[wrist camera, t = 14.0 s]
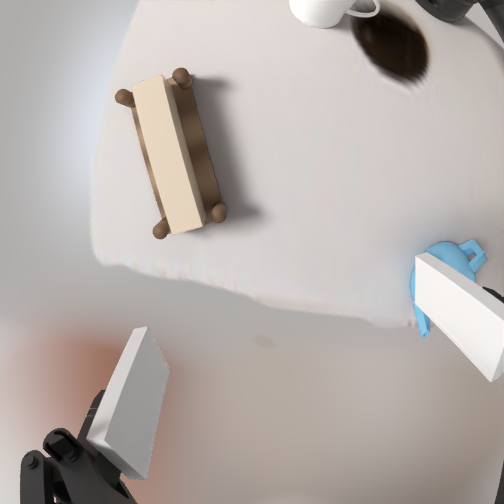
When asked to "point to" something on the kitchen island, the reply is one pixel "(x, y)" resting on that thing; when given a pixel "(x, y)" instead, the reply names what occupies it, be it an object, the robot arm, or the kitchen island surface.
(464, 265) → the teapot
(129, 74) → the kitchen island surface
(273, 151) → the kitchen island surface
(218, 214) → the rack
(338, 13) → the mug
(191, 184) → the beige long block
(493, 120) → the kitchen island surface
